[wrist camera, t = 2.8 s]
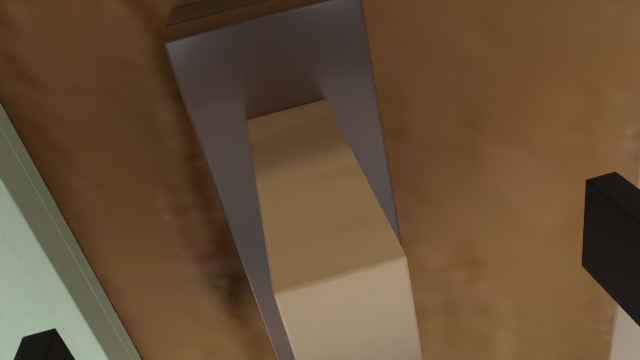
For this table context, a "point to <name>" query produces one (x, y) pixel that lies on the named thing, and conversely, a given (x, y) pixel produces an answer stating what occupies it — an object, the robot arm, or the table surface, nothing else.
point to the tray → (47, 268)
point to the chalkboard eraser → (300, 170)
